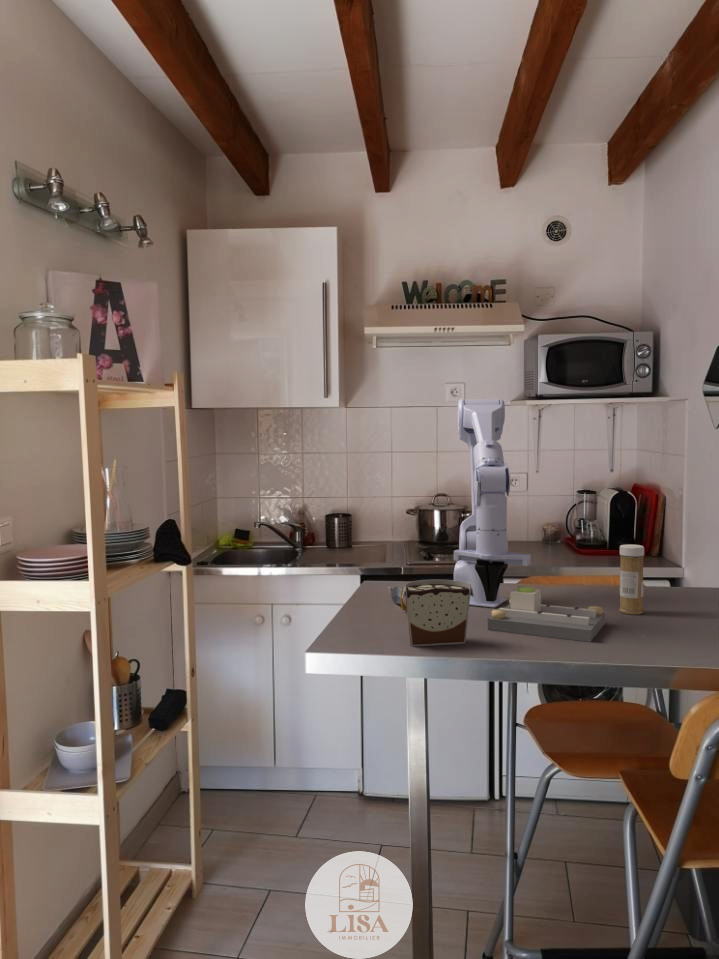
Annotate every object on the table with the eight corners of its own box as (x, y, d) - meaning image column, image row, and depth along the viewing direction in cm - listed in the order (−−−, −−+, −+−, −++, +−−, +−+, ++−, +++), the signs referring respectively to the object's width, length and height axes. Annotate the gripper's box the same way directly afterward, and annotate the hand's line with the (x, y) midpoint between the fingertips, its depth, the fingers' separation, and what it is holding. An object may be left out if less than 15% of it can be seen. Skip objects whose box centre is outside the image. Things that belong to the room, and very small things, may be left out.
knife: (385, 597, 158) (385, 575, 157) (391, 597, 158) (391, 574, 158) (413, 624, 133) (413, 598, 133) (420, 624, 134) (420, 597, 133)
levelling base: (487, 629, 129) (487, 611, 129) (510, 613, 142) (510, 596, 142) (590, 642, 121) (590, 622, 121) (604, 623, 133) (605, 605, 133)
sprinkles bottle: (648, 613, 142) (649, 545, 141) (634, 616, 139) (634, 547, 138) (628, 609, 145) (629, 543, 145) (614, 611, 143) (614, 545, 142)
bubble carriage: (510, 613, 132) (510, 588, 132) (517, 608, 136) (517, 584, 136) (534, 616, 130) (534, 590, 130) (540, 610, 134) (540, 586, 134)
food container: (462, 633, 127) (462, 577, 126) (473, 643, 121) (473, 584, 120) (394, 637, 125) (394, 580, 124) (402, 646, 118) (402, 587, 118)
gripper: (447, 529, 136) (447, 600, 136) (523, 533, 129) (523, 608, 129) (461, 526, 142) (460, 594, 142) (533, 529, 135) (533, 601, 135)
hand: (491, 600), depth 136 cm, fingers closed
